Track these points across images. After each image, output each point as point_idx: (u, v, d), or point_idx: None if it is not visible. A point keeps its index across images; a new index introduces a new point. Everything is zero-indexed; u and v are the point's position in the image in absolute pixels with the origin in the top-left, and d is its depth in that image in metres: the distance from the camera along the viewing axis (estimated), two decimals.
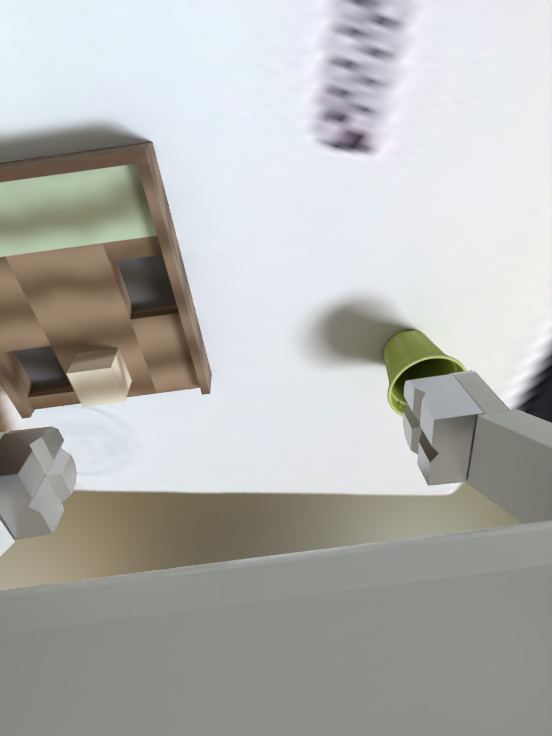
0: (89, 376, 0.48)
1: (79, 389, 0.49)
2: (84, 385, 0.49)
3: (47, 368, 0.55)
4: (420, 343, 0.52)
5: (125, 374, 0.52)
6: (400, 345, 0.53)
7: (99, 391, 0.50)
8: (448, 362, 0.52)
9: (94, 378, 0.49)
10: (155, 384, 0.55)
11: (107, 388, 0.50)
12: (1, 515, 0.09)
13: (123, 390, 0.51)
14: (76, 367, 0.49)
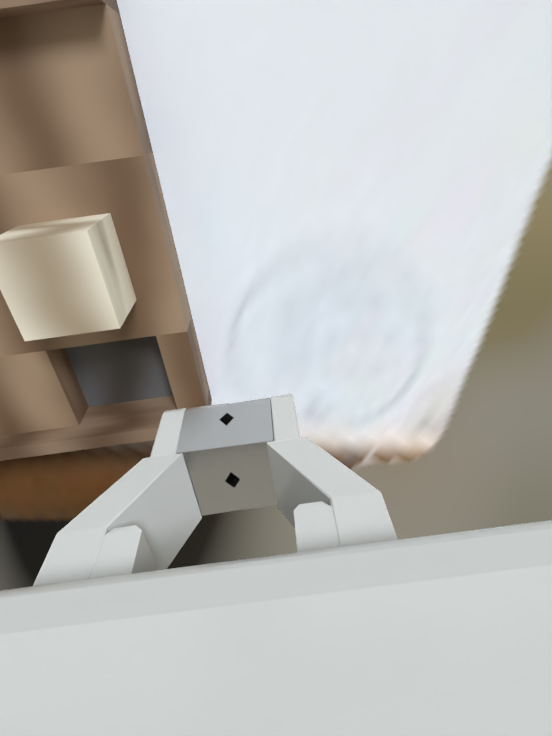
0: (21, 296, 0.21)
1: (66, 325, 0.22)
2: (51, 312, 0.22)
3: (137, 366, 0.30)
4: None
5: (70, 221, 0.22)
6: None
7: (64, 285, 0.21)
8: None
9: (22, 287, 0.21)
10: (114, 154, 0.22)
11: (50, 265, 0.20)
12: (196, 490, 0.09)
13: (68, 230, 0.20)
14: None
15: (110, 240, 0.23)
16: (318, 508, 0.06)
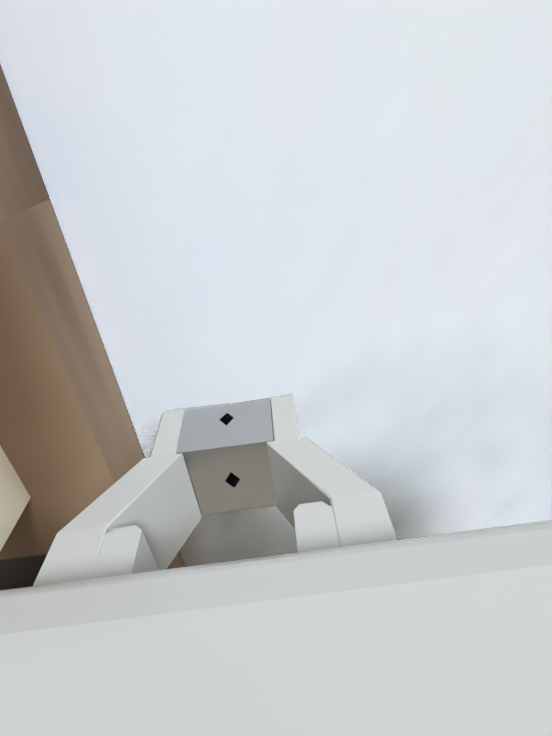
0: None
1: None
2: None
3: None
4: None
5: None
6: None
7: None
8: None
9: None
10: None
11: None
12: (196, 490, 0.09)
13: None
14: None
15: None
16: (318, 508, 0.06)
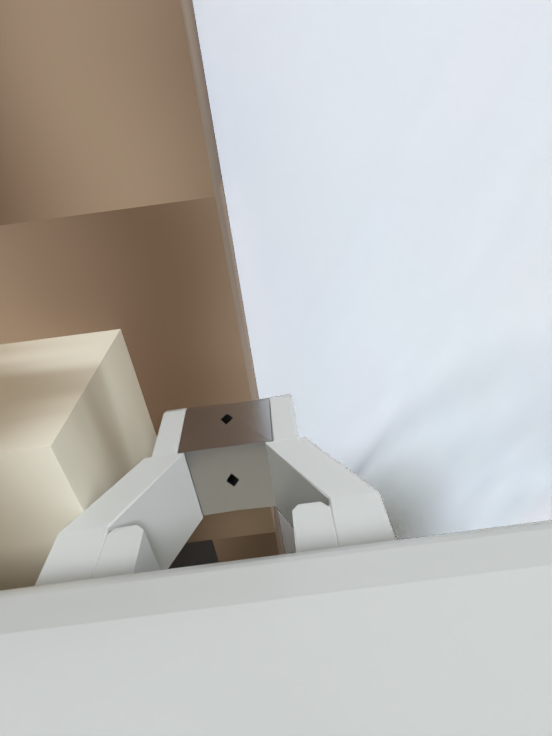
0: None
1: None
2: None
3: None
4: None
5: (21, 363, 0.09)
6: None
7: None
8: None
9: None
10: (140, 194, 0.08)
11: None
12: (197, 490, 0.09)
13: None
14: None
15: (120, 403, 0.09)
16: (317, 508, 0.06)
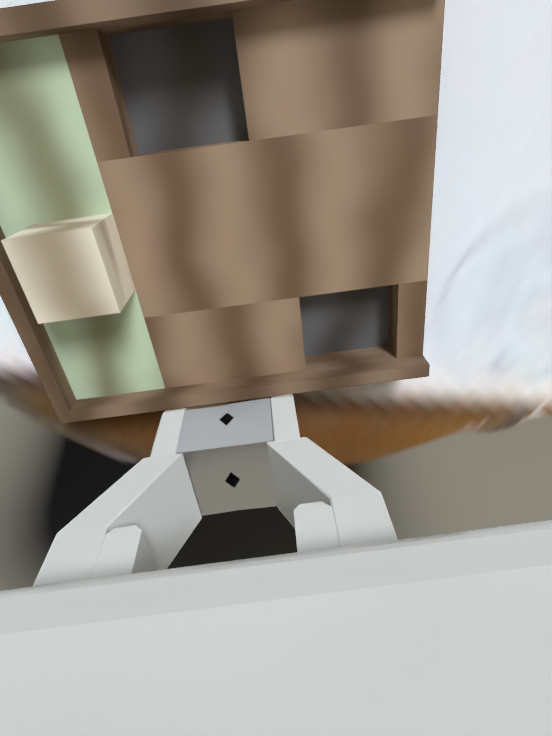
0: (35, 285, 0.25)
1: (73, 310, 0.26)
2: (61, 298, 0.25)
3: (356, 317, 0.34)
4: None
5: (77, 220, 0.26)
6: None
7: (72, 275, 0.24)
8: None
9: (37, 276, 0.24)
10: (413, 114, 0.25)
11: (60, 257, 0.24)
12: (196, 490, 0.09)
13: (75, 228, 0.24)
14: None
15: (111, 236, 0.26)
16: (318, 508, 0.06)
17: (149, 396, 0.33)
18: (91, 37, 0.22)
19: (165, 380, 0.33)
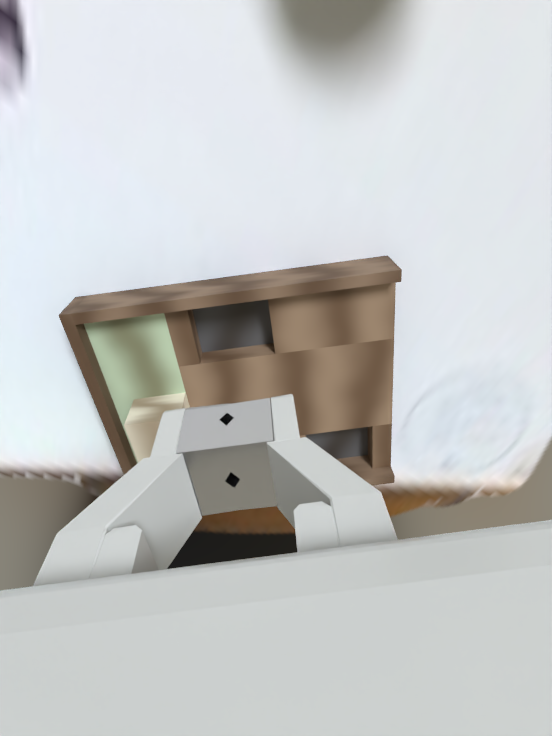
0: (141, 446, 0.39)
1: None
2: None
3: (344, 438, 0.48)
4: None
5: (165, 401, 0.40)
6: None
7: None
8: None
9: (142, 442, 0.39)
10: (378, 338, 0.39)
11: None
12: (196, 490, 0.09)
13: None
14: None
15: None
16: (318, 508, 0.06)
17: None
18: None
19: None
